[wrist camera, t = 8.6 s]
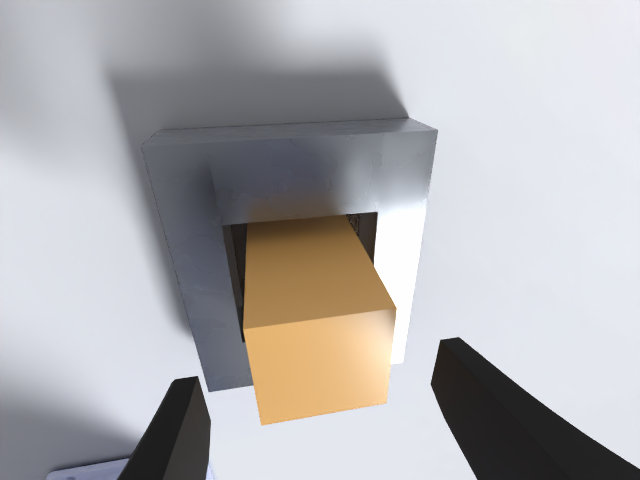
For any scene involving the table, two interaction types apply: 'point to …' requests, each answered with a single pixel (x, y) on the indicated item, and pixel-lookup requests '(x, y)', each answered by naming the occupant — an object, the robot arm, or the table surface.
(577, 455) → the robot arm
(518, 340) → the table surface
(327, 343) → the square block
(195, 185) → the square hole plate
